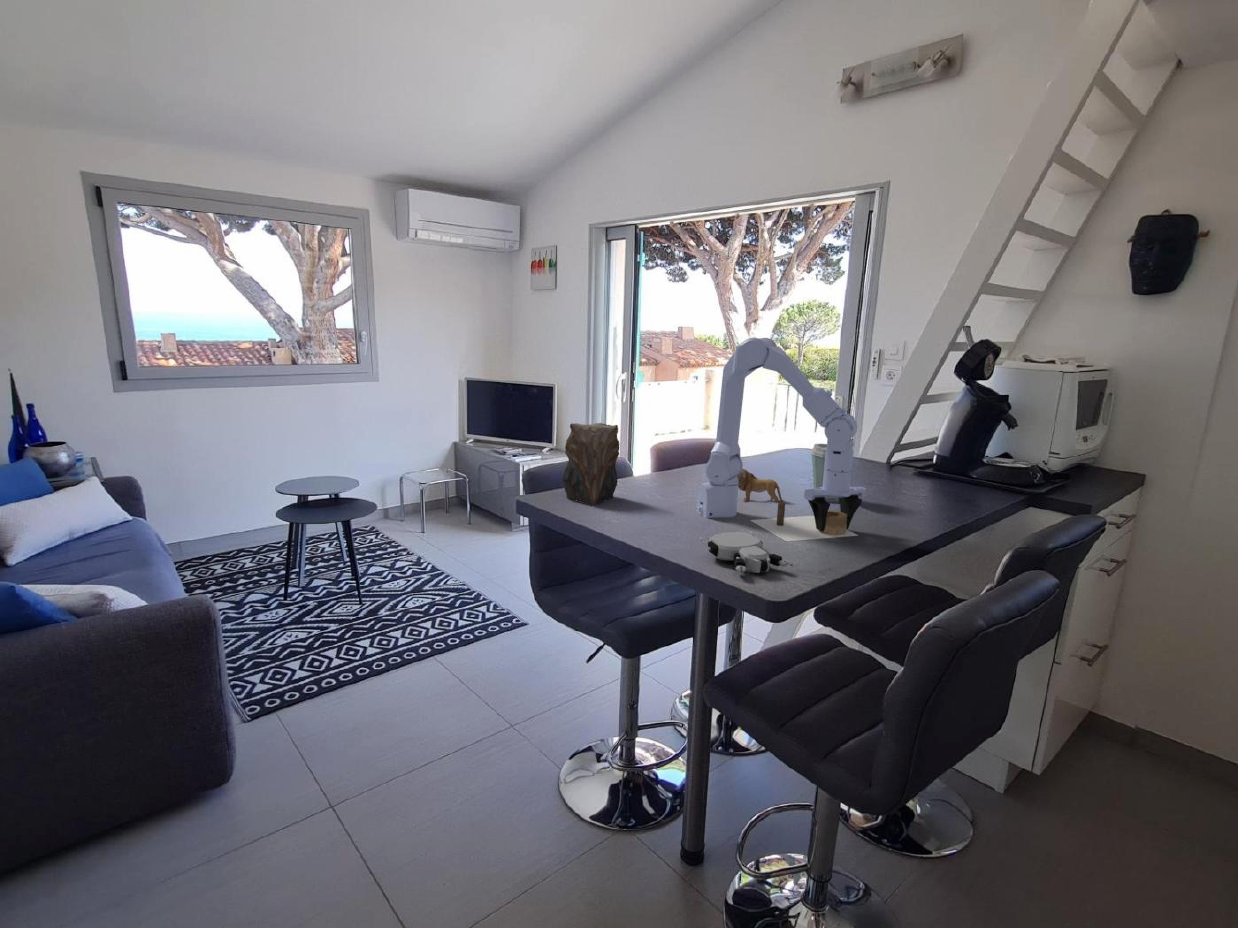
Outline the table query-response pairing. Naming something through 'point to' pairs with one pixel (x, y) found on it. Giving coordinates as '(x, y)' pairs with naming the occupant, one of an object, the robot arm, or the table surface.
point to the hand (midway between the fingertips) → (832, 528)
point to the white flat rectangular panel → (797, 528)
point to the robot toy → (743, 551)
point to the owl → (591, 462)
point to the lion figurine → (757, 485)
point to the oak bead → (835, 523)
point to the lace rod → (780, 513)
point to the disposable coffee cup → (819, 467)
